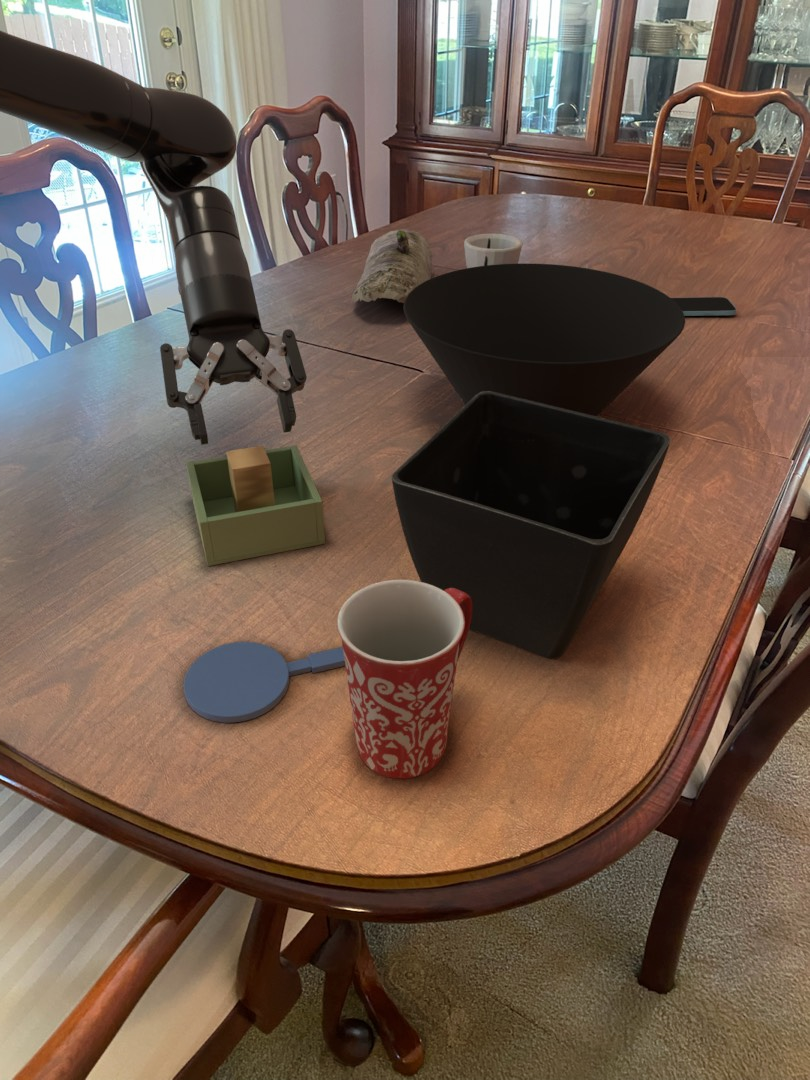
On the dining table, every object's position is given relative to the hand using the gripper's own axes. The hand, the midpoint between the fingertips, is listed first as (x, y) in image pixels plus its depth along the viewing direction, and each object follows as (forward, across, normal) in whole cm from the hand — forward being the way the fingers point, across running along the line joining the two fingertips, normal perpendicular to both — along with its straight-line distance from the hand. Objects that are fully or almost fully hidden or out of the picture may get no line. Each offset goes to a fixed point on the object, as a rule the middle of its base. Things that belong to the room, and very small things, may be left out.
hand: (247, 436), depth 83 cm
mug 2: (-37, +55, +53) cm, 85 cm away
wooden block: (+7, 0, +9) cm, 11 cm away
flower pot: (+23, +22, -6) cm, 32 cm away
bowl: (-3, +41, +20) cm, 46 cm away
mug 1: (+32, +7, -15) cm, 35 cm away
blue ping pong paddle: (+24, -1, -8) cm, 26 cm away
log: (-39, +37, +55) cm, 77 cm away
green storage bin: (+7, 0, +9) cm, 12 cm away
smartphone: (-23, +85, +39) cm, 96 cm away
